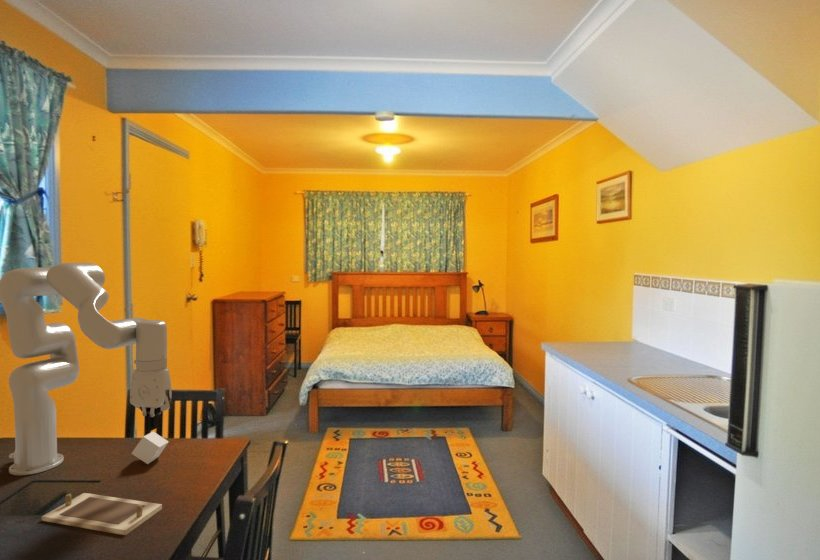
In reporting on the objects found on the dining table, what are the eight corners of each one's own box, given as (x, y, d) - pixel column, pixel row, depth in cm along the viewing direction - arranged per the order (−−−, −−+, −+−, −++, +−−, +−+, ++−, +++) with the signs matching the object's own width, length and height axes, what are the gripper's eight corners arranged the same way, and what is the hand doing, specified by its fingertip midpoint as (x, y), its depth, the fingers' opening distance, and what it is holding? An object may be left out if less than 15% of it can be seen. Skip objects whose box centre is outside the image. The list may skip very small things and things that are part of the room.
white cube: (141, 447, 140) (153, 431, 140) (157, 458, 140) (169, 441, 141) (131, 453, 134) (143, 436, 134) (147, 464, 134) (159, 447, 135)
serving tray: (41, 521, 106) (41, 506, 106) (84, 497, 117) (83, 483, 116) (125, 535, 101) (125, 519, 101) (162, 508, 112) (161, 494, 111)
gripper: (117, 365, 121) (118, 431, 122) (164, 370, 118) (164, 437, 118) (139, 359, 128) (140, 421, 129) (184, 363, 125) (184, 426, 126)
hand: (151, 428), depth 124 cm, fingers closed
